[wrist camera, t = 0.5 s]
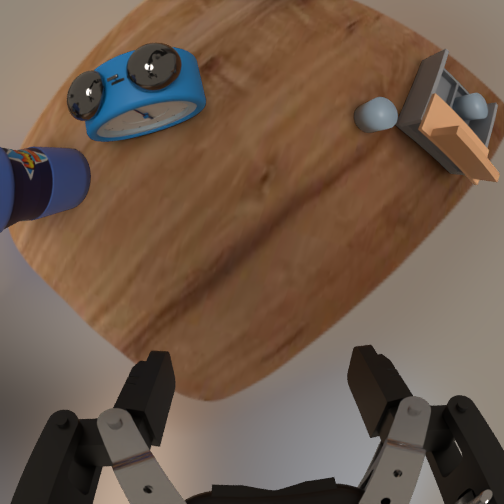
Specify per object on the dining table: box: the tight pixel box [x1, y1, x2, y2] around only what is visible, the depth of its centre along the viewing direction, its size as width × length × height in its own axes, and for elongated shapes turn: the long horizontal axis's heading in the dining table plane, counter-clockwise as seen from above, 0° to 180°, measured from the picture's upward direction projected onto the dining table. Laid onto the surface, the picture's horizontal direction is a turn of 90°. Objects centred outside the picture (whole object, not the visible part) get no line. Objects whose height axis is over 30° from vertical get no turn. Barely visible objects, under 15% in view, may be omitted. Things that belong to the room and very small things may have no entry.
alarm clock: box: [67, 43, 206, 142], centre depth 24 cm, size 13×6×15 cm, turn 103°
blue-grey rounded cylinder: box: [354, 97, 398, 133], centre depth 30 cm, size 4×4×5 cm
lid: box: [418, 93, 500, 185], centre depth 24 cm, size 6×12×6 cm, turn 63°
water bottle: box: [0, 147, 91, 232], centre depth 21 cm, size 9×9×25 cm
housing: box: [395, 49, 498, 175], centre depth 28 cm, size 14×12×7 cm
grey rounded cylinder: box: [452, 93, 488, 121], centre depth 28 cm, size 4×4×5 cm
